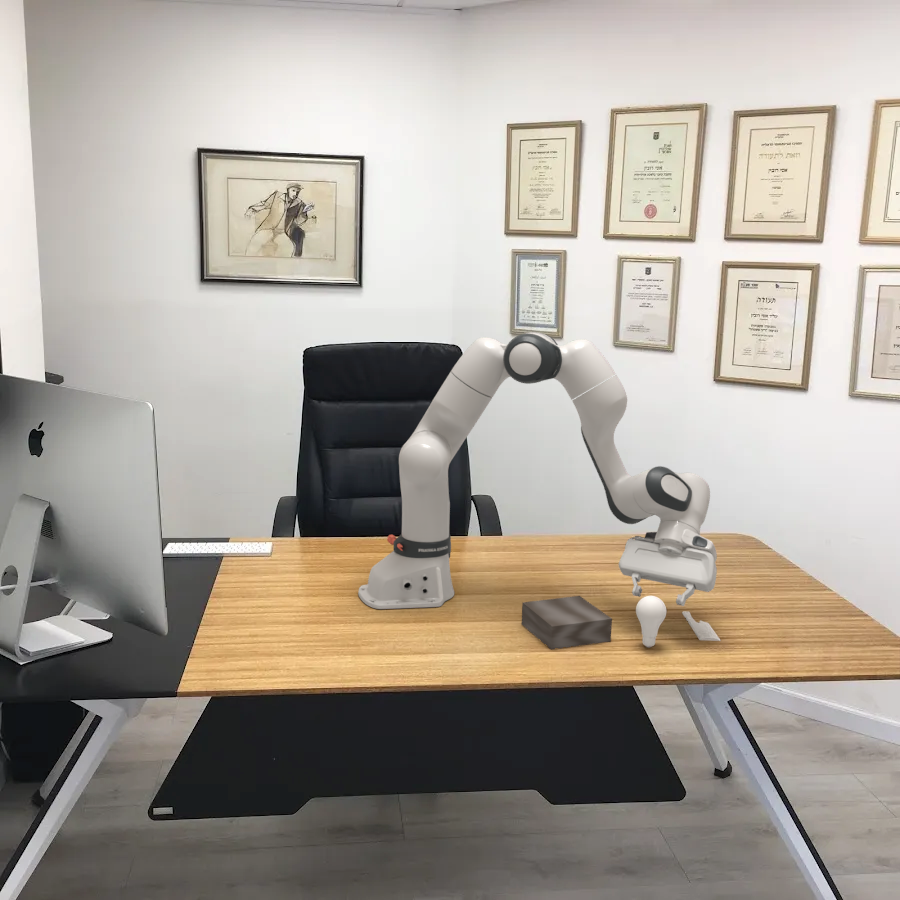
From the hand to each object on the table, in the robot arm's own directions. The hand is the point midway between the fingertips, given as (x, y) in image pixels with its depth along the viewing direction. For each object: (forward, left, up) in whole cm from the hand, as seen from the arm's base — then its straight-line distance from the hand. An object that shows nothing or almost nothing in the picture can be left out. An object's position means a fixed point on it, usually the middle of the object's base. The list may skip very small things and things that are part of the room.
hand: (657, 599), depth 194 cm
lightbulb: (-3, -2, -9) cm, 10 cm away
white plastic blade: (+15, +4, -10) cm, 18 cm away
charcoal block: (-16, +10, -9) cm, 21 cm away
